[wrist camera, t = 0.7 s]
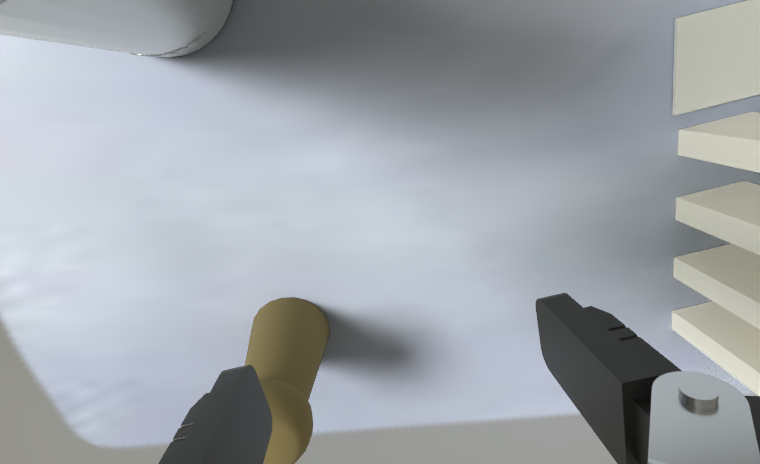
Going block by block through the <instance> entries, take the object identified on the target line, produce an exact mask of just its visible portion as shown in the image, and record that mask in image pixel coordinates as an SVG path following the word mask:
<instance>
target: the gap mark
mask: <svg viewBox="0 0 760 464" xmlns="http://www.w3.org/2000/svg"><path fill="white" fill-rule="evenodd" d="M759 94H760V0H746V1H743V2H739V3H735V4H731V5H727V6H723V7H719V8H715V9H711V10H707V11H703V12H700V13H696V14H692V15H688V16H684V17H680V18H676V19H675V34H674V68H673V103H672V115H673V116H675V115H679V114H683V113H687V112H691V111H695V110H699V109H703V108H707V107H711V106H715V105H719V104H723V103H727V102H731V101H735V100H739V99H743V98H747V97H751V96H755V95H759Z"/></svg>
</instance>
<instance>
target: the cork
mask: <svg viewBox="0 0 760 464" xmlns="http://www.w3.org/2000/svg"><path fill="white" fill-rule="evenodd" d="M329 335H330V332H329V323H328V321H327V319H326V317H325V315H324V313H323V312H322V311H321V310H320V309H319V308H318V307H317V306H315V305H313V304H312V303H310V302H308V301H306V300H302V299H298V298H280V299H277V300H274V301H271V302H269V303H268V304H266V305H265V306H264V307H262V308H261V309H260V310H259V312H258V313H257V315H256V316H255V318H254V322H253V326H252V331H251V336H250V341H249V346H248V352H247V357H246V362H245V366H246V365H252V366H253V367H254V369H255V371H256V373H257V376H258V378H259V381H260V383H261V386H262V389H263V391H264V394H265V396H266V399H267V402H268V404H269V407H270V410H271V414H272V433H271V437H270V441H269V444H268V448H267V451H266V455H265V458H264V462H263V464H294V463H295V462H296V461H297V460H298V459H299V458H300V457H301V456H302V454H303V453H304V452H305V451H306V448H307V446H308V444H309V441H310V438H311V435H312V430H313V419H312V411H311V406H310V404H309V402H308V400H309V397H310V393H311V390H312V387H313V384H314V381H315V378H316V375H317V372H318V369H319V366H320V363H321V360H322V357H323V354H324V351H325V347H326V344H327V341H328V338H329Z"/></svg>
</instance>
